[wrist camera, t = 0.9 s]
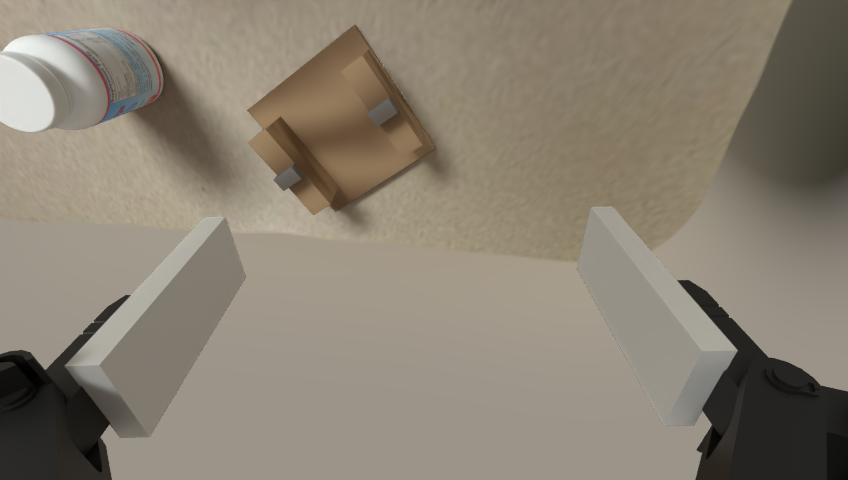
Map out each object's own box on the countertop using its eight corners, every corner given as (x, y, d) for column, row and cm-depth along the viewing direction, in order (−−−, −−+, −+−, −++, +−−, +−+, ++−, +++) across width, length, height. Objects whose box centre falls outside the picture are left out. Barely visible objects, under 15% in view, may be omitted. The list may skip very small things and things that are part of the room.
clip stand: (249, 108, 35) (222, 126, 30) (355, 24, 32) (343, 29, 27) (336, 208, 40) (324, 237, 36) (435, 146, 37) (436, 168, 32)
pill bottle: (108, 104, 35) (-10, 145, 26) (77, 26, 32) (-72, 39, 22) (177, 104, 35) (84, 145, 26) (152, 26, 32) (35, 39, 22)
